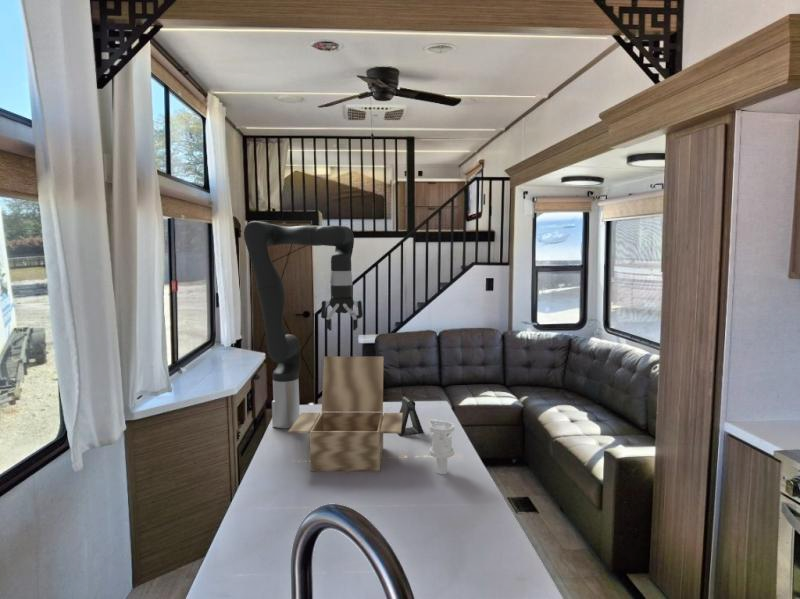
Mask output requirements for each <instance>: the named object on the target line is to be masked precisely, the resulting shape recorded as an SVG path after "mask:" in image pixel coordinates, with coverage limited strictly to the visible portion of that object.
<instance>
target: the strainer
mask: <svg viewBox="0 0 800 599" xmlns="http://www.w3.org/2000/svg"><path fill="white" fill-rule="evenodd" d="M438 426H444V427H445V428H437V427H438ZM429 431H430V432H431V433H432V441H431V442H432V444H431V445H432V446H431V447H430V448H429V455H430V456H431V457H433V458H435V459H436V473H437V474H438V473H439V474H438V475H446V474H448V459H449V458H452V457H454V456H455V449H454V448H453V446H452V444H453V443H452V442H453V440H452V439H453V438H452V436H453V435H452V433H453V432H454V431H455V424H454V423H453V422H449V421H445V420H444V421H442V420H439V419H435V418H431V419H430V423H429Z"/></svg>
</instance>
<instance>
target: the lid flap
mask: <svg viewBox="0 0 800 599" xmlns="http://www.w3.org/2000/svg"><path fill="white" fill-rule="evenodd" d="M384 359H385V358H384V356H383V355H382V356H370V355H369V356H323V372H322V395H321V397H322V398H321V412H383V411H384V361H385V360H384ZM383 413H384V412H383Z"/></svg>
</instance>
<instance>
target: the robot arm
mask: <svg viewBox="0 0 800 599" xmlns="http://www.w3.org/2000/svg"><path fill="white" fill-rule="evenodd" d="M243 239H244V242H245V246H246V249H247V251H248V254H249V258H250V262H251V266H252V268H253V269H252V270H253V274H254V278H255V279H254V280H255V283H256V291H257V293H258V294H257V295H258V299H259V302H260V308H261V313H262V318H263V323H264V331H265V341H266V350H267V354H268V357H269V358H270V359H271V360H272V362H275V363H277V366H276V368H275V369H274V370H273V372H272V396H273V400H272V401H271V416H272V422H271V423H272V428H278V429H290V428H291V427H292V426H293V424H294V423H295V421H296V420H297V418H298V417H299V416H300V388H299V385H300V384H299V382H300V381H299V375H300V370H301V363H302V362H301V360H302V359H301V358H302V357H301V356H302V355H301V354H302V353H301V352H302V350H301V343H300V340H299V339H298V337H296V335H294V334H291V333H290V334H287V333H286V334H285V330H284V324H283V322H284V312H285V308H286V298H287V297H286V292H285V287H284V284H283V283H284V282H283V279H282V277H281V276H280V274H279V271H278V270H277V269H276V267H275V266H274V264H273V262H272V260H271V258H270V254H269V249H268V247H273V246H279V245H280V246H281V245H298V246H308V247H309V246H310V247H311V246H313V247H314V246H316V247H317V246H318V247H320V246H327V247H334V249H335V250H334V253H333V254H332V255H331V258H330V282H329V284H330V300H329V301H327V300H325V299H324V300H322V301H321V313H320V314H321V315H320V317H321V319H325V320H326V328H327V330H328V331H333V330H332V328H333V326H332V323H333V320H332V318H333V316H334V315H335V313H337V314H341V313H342V314H347V313H348V314H349V315H350V317H352V319H353V320H352V330H353V331H357V329H358V326H359V324H358V322H359V321H358V320H359V319H361V318H362V317H363V316H364V313H363V312H364V311H363V301H362V300H361V299H359V300H354V297H353V293H354V292H353V273H352V256H353V251H354V250H353V249H354V245H355V244H354V243H355V237H354V233H353V231H352V229H351V228H350V227H348V226H343V225H296V226H284V225H277V224H272V223H269V222H267V221H266V222H265V221H260V220H259V221H258V220H257V221H256V220H253V221H249V222H248V223H247V224H246V225H245V227H244V229H243ZM354 305H355V307H356V308H357V312H358V314H356V312H355V311H354V310H353V307H354ZM329 306H330V307H331V311H330V312H329V313H328V314H327V307H329Z"/></svg>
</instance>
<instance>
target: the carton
mask: <svg viewBox="0 0 800 599" xmlns="http://www.w3.org/2000/svg"><path fill="white" fill-rule="evenodd" d="M299 415H300V416H299V417H298V418H297V420H296V421H295V423H294V424H293V426H292V427H291V428H289V429H288V434H309V445H310V446H309V448H310V449H309V450H310V451H309V452H310V453H309V454H310V456H309V457H310V458H309V459H310V472H359V471H367V472H369V471H371V473H372V472H377V473H379V472H380V471H381V465H382V460H383V459H382V458H383V454H384V453H383V452H384V434H397V433H401V428H402V415H403V413H399V412H322V411H321V412H300V413H299ZM381 459H382V460H381ZM367 472H366V473H367ZM369 473H370V472H369Z"/></svg>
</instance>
